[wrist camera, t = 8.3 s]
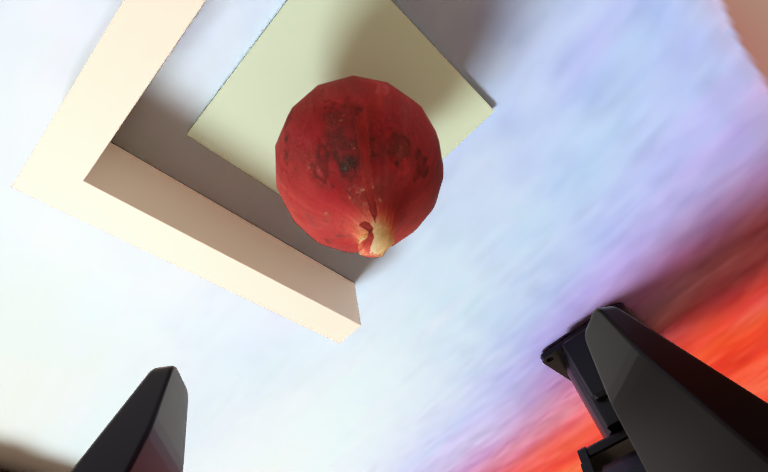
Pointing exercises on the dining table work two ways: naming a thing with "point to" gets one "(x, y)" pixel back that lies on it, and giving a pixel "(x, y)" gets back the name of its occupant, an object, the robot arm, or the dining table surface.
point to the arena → (234, 140)
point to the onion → (358, 165)
